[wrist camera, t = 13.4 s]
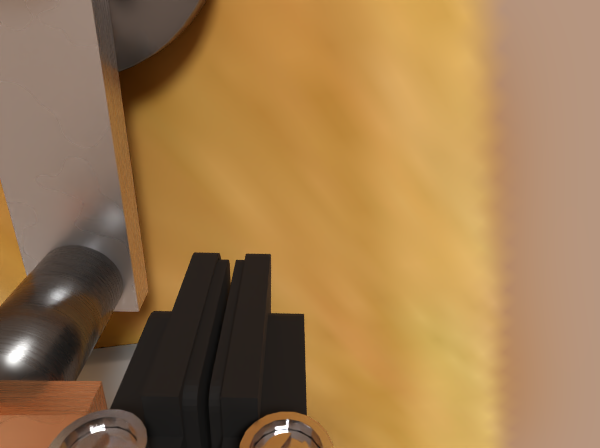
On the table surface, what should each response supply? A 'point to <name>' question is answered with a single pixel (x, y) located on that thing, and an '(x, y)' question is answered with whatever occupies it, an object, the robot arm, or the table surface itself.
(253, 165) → the table surface
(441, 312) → the table surface
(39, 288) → the crank
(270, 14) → the table surface
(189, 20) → the hub
